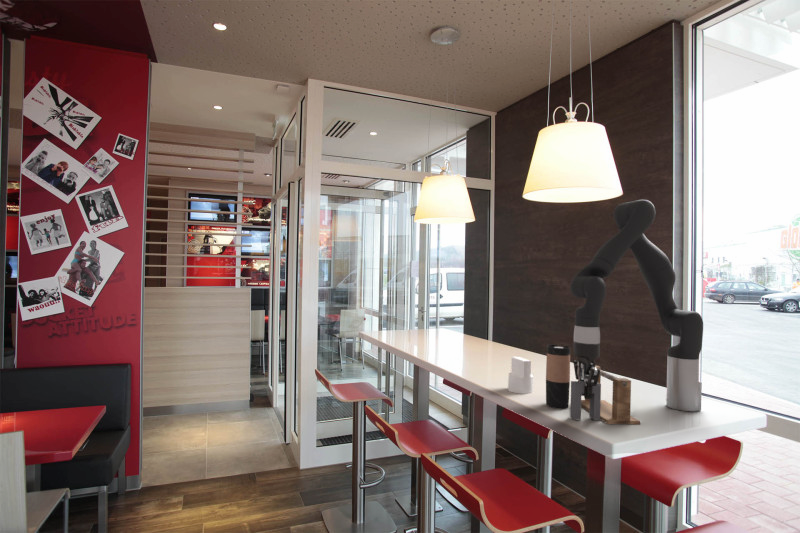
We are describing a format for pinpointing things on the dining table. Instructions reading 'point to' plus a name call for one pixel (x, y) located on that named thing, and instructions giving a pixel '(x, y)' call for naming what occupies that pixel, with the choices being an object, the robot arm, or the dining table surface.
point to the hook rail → (615, 402)
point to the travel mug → (557, 376)
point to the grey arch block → (576, 392)
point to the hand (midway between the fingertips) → (585, 396)
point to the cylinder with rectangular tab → (520, 376)
